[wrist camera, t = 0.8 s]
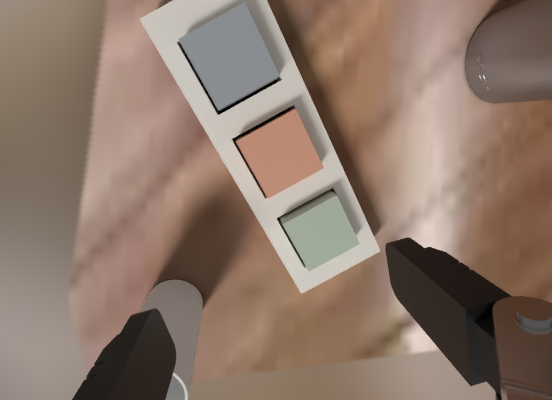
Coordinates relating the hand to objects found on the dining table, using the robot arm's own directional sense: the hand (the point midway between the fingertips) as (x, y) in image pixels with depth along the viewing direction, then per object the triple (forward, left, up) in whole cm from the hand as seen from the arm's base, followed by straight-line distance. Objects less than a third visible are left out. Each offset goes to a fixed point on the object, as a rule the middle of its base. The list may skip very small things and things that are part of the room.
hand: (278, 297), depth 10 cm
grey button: (-4, -10, -19) cm, 22 cm away
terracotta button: (-4, -1, -19) cm, 20 cm away
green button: (-4, +8, -19) cm, 21 cm away
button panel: (-4, -1, -21) cm, 22 cm away
